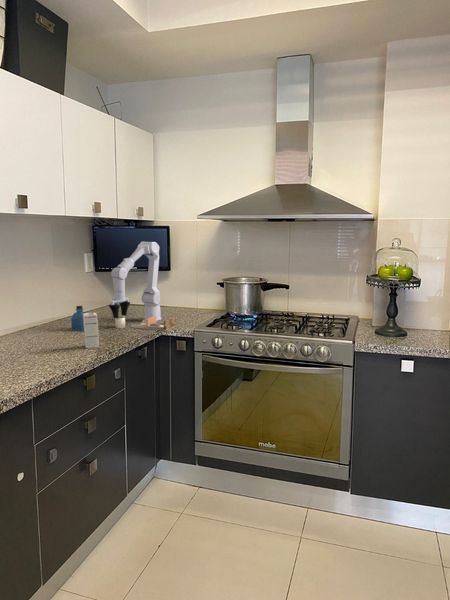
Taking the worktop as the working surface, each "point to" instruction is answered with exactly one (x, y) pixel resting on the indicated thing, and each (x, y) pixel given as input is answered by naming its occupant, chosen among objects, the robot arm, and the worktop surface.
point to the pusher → (152, 322)
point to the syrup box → (90, 330)
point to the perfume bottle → (78, 319)
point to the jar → (120, 321)
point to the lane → (164, 326)
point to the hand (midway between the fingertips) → (120, 316)
